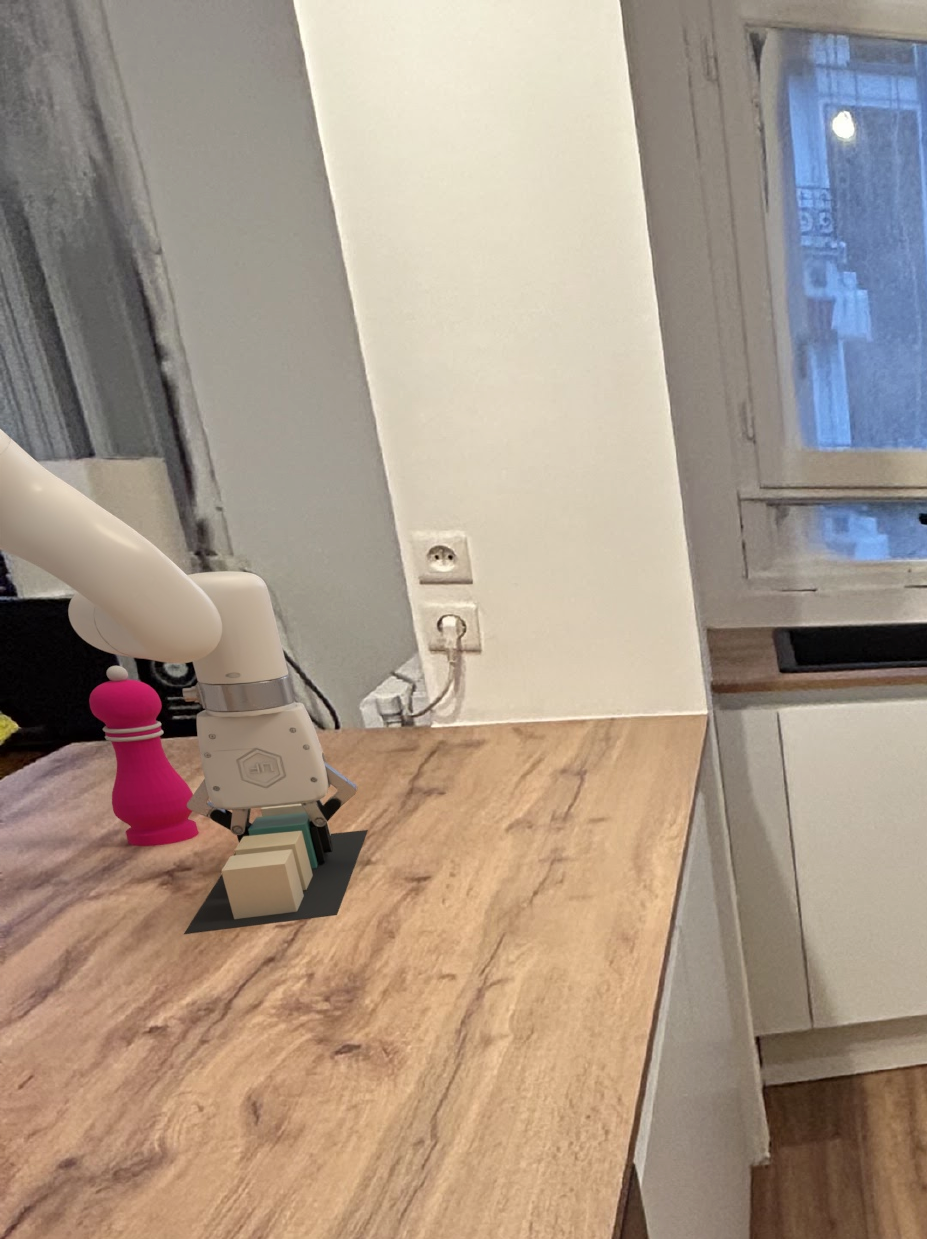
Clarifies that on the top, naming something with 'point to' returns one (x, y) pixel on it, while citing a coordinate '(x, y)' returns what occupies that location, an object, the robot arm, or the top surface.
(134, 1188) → the top surface
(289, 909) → the cream block
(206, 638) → the robot arm
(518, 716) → the top surface
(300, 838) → the cream block
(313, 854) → the teal block
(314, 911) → the mat
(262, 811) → the cream block
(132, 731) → the pepper mill
